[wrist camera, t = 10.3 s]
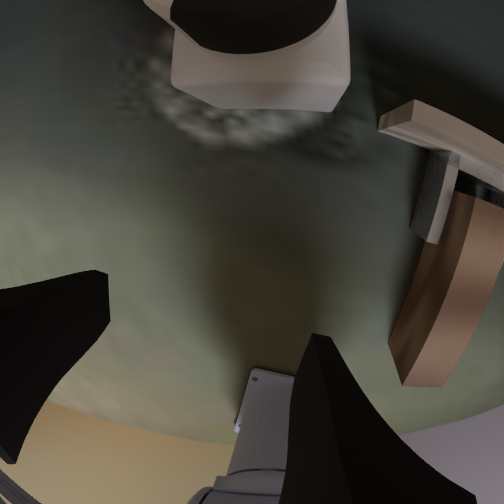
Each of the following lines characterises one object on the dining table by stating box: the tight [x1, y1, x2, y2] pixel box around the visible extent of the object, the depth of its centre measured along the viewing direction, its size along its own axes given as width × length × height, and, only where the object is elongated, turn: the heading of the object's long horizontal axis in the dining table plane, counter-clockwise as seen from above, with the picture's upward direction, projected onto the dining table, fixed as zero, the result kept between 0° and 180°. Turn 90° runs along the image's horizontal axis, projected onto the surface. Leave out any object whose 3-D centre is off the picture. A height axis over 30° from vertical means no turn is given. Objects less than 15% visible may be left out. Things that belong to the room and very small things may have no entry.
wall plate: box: [378, 99, 504, 178], centre depth 12 cm, size 1×14×6 cm, turn 78°
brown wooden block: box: [388, 191, 504, 387], centre depth 15 cm, size 12×3×5 cm, turn 172°
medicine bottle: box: [143, 0, 350, 112], centre depth 9 cm, size 7×7×12 cm
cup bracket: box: [410, 150, 504, 267], centre depth 14 cm, size 5×7×3 cm
